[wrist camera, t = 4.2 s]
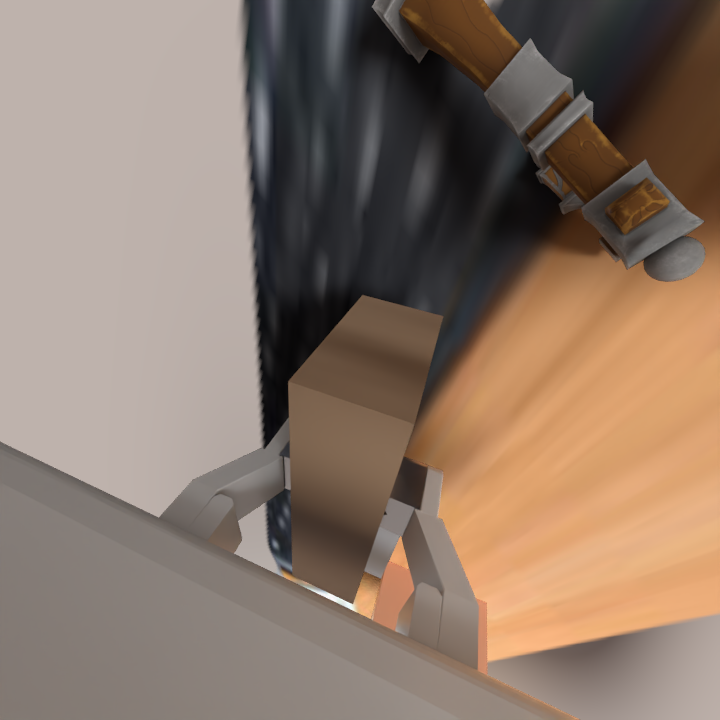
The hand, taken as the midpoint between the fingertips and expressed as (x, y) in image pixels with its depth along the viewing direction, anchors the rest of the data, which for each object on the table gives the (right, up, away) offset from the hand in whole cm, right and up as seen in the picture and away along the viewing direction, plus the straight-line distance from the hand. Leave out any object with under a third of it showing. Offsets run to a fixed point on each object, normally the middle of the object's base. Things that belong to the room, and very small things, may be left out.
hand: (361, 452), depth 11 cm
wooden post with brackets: (+4, +10, -3) cm, 11 cm away
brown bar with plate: (0, -2, +3) cm, 4 cm away
